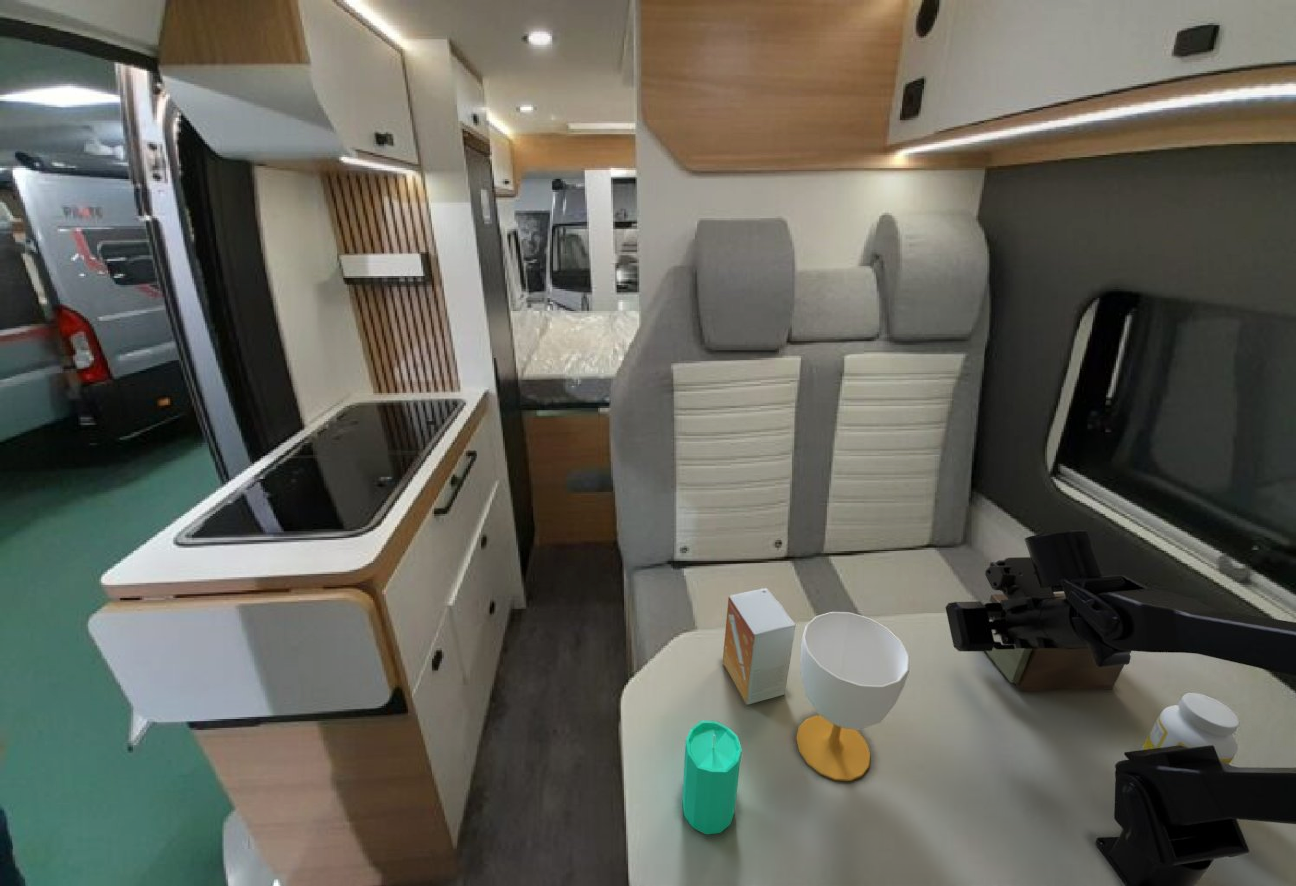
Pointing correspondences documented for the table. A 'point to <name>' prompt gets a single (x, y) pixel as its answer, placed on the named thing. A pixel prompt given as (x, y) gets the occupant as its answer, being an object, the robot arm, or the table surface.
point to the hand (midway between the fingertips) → (982, 627)
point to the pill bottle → (1196, 726)
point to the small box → (758, 645)
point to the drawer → (1010, 661)
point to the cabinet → (1063, 668)
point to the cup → (847, 689)
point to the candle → (710, 776)
